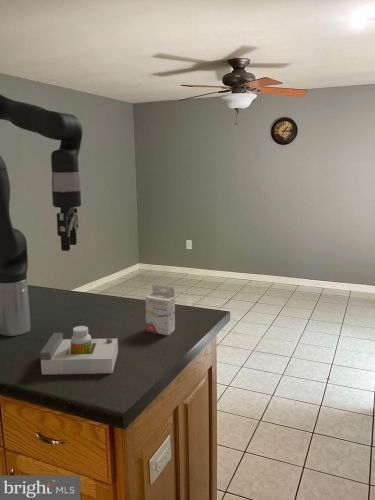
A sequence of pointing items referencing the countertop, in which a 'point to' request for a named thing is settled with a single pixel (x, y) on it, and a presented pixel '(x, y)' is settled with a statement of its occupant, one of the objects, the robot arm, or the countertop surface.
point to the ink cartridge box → (160, 310)
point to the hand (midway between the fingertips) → (69, 247)
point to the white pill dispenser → (78, 357)
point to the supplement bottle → (81, 341)
